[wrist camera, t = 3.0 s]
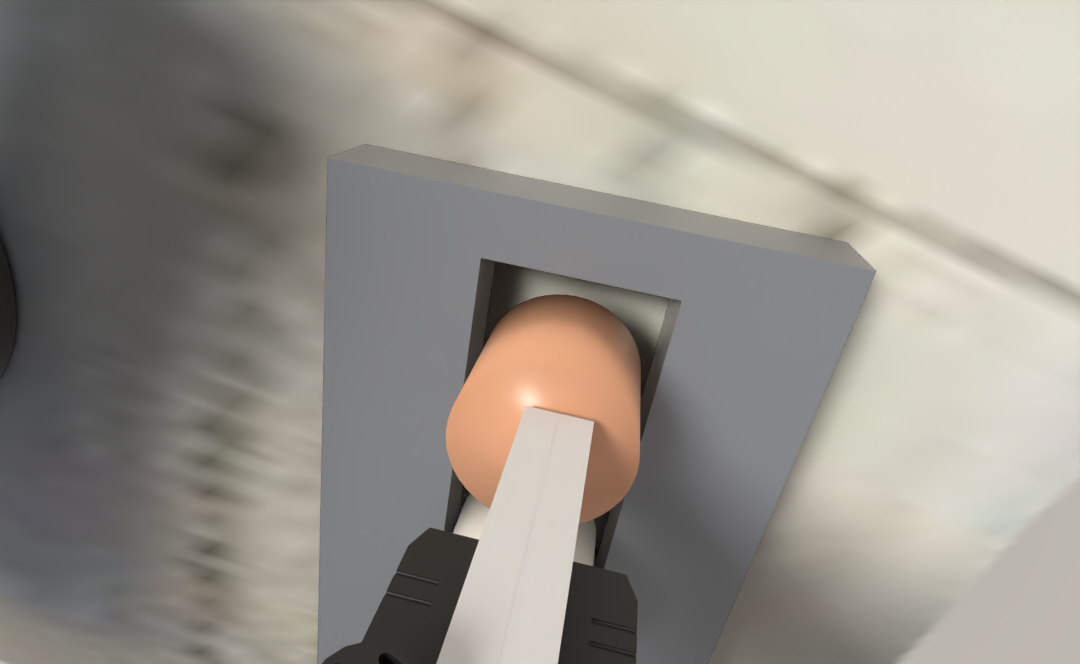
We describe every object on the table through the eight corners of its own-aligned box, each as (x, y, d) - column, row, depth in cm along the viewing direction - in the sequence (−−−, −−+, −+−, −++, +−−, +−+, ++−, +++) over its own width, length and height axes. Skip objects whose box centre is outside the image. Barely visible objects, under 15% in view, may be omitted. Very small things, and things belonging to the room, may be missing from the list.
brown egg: (476, 415, 19) (437, 502, 15) (496, 279, 17) (456, 342, 13) (621, 448, 19) (615, 545, 15) (658, 314, 17) (661, 389, 13)
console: (342, 632, 28) (316, 683, 25) (364, 144, 18) (327, 157, 16) (659, 713, 27) (660, 772, 25) (847, 242, 18) (876, 271, 15)
